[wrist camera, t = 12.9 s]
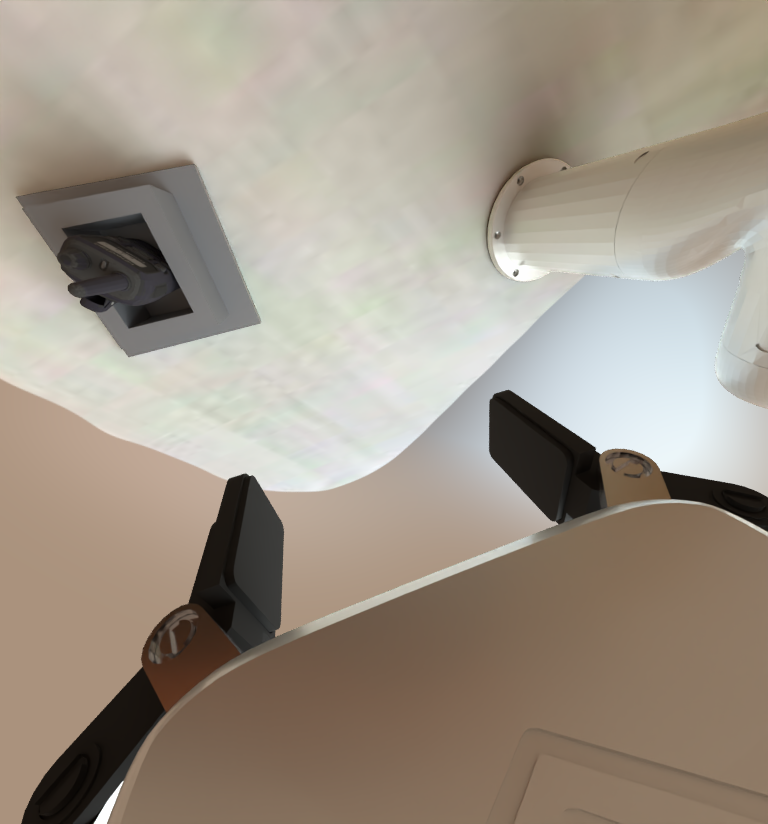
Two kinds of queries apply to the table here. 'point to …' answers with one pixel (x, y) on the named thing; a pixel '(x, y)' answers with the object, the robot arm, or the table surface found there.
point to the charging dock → (168, 232)
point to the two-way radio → (115, 271)
